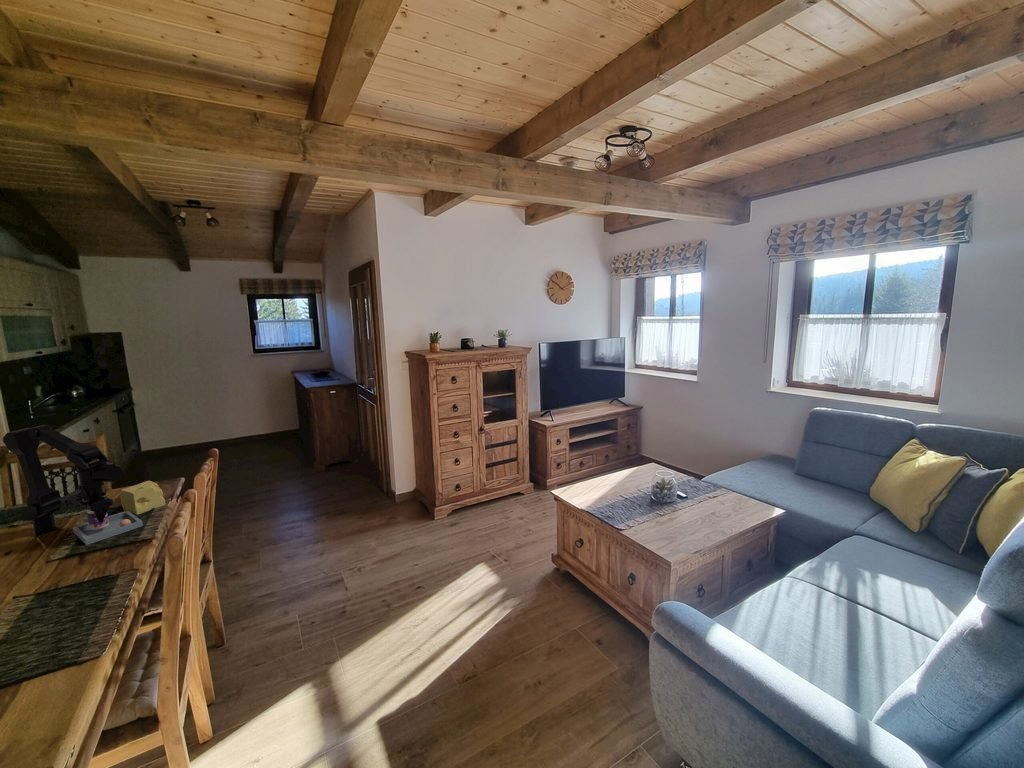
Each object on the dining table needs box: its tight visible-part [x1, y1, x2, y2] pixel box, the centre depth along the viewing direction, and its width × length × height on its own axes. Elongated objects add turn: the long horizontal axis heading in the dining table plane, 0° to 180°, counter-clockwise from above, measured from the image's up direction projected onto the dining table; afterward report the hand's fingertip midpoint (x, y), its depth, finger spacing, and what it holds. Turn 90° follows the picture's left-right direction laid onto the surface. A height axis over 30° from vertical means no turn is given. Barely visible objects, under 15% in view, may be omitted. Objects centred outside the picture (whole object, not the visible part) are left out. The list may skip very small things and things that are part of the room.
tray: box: [72, 510, 144, 546], centre depth 163 cm, size 16×16×3 cm
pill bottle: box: [86, 509, 109, 530], centre depth 161 cm, size 5×5×10 cm
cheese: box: [119, 480, 166, 516], centre depth 180 cm, size 10×11×10 cm
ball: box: [120, 519, 131, 527], centre depth 164 cm, size 3×3×3 cm
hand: (98, 520), depth 161 cm, fingers closed on pill bottle, 5 cm apart
